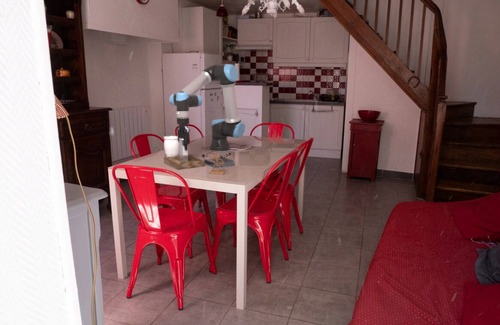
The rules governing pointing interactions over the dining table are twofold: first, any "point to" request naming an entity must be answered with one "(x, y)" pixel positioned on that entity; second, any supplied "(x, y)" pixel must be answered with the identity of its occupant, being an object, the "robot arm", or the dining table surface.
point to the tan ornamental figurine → (217, 167)
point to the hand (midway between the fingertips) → (183, 154)
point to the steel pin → (182, 157)
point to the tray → (191, 163)
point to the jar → (171, 146)
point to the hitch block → (226, 162)
